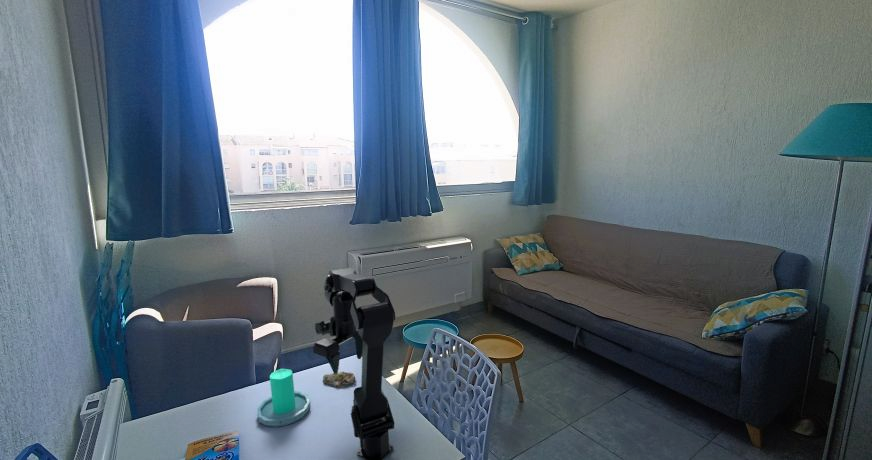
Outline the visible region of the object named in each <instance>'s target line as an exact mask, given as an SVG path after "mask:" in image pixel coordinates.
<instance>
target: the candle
mask: <svg viewBox="0 0 872 460" xmlns="http://www.w3.org/2000/svg"><path fill="white" fill-rule="evenodd" d="M269 383H270V393H271V397H272V404H273V411H274V413H276V414H285V413H288V412H290V411H292V410H293V409H294V408H295V406H296V405H295V394H294V391H295V386H294V385H295V384H294V373H293V371H292V369H287V368H280V369H277V370H274V371H273V372H272V373H271V374H270V375H269Z"/></svg>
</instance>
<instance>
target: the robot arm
mask: <svg viewBox="0 0 872 460" xmlns="http://www.w3.org/2000/svg"><path fill="white" fill-rule="evenodd" d="M323 291H324V298H325V300H326V301H327V302H328V303H329V304H330V306H332V311H333V316H331V317H330V318H329V319H328V320H326V321H324V320H321V321H317V322H315V324H314V329H315V332H316V334H317V335H322V336H325V335H329V336H331V337H334V338H333V339H330V338H327V337H323V338H322V339H320V340H318V341H316V342H314V344H313V345H312V349H313V350H312V351H313V354H316V355H319V356H321V357H324V358H326V360H327V362H328V364H329V366H330V368H331V370H332V372H333V373H336V374H337V373H339V367H340V359H341V352H339V351H340V345H341V344H344V343H345V342H347V341H349V340H351V339H354V342H355V343H354V344H355V354H356V358H357V359H358V360H361V386H359V387H356V388H354V390H353V400H352V401H353V405H351V409H350V418H351V422H352V427H353V435H354V438H359V444H360V449H359V450H358V451H357V452H356V455H357V457H359V458H361V459H363V460H384V459H385V458H386V457H388V455H389V454H390V453H391V452H392V451H393V450H394V446H393V445H392V444H390V438H389V431H390V430H394V429H395V420H394V417H393V412H392V410H391V406H390V403H389V400H388V397H387V396H386V394H385V393H384V391H383V388H382V387H383V370H384V367H383V366H384V354H385V353H384V351H385V343H386V341H387V340H388V338H389V337H390V336H391V334H392V333H393V329H394V324H395V321H396V312H395V309H394V306H393V304H392V302H391V299H390V296H389V295H388V294H387V293H386V292H384V290H383V289H381V288H380V287H378V285H377V283H376V281H375V279H374V278H373V277H370V276H369V277H367V276H362V275H360V274H357V270H355V269H354V268H353V267H346V268H339V269H331V270H329V271H328V275H326V278H325V281H324V283H323ZM369 295H371V296H372V298H373V299H375V300H376V301H378V303H373V304H368V305H363V306H359V307H358V308H357V305H356V301H357V298H359V297H364V296H369Z"/></svg>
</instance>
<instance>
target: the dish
mask: <svg viewBox="0 0 872 460" xmlns="http://www.w3.org/2000/svg"><path fill="white" fill-rule="evenodd" d="M294 394H295V405H296V406H295V408H294V409H293V410H292V411H290V412H288V413H285V414H276V413H274V411H273V404H272V396H270V397H268V398H267V399H265V400H263V401H262V402H261V403H260V405H259V406H258V407H257V408H256V410H257V411H256V412H257V413H256V414H257V415H256V416H257V420H258V422H259V423H260V424H262V425H264V426H265V427H281V426H282V427H283V426H287V425H290V424H294V423H295V422H297V421H299V420H301V419H302V418H303V417H304V416H306V415H307V414H308V413H309V411H310V409H311V400H310V397H309V394H307V393H305V392H302V391H299V390H297V391H296V390H294Z"/></svg>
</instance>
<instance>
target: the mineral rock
mask: <svg viewBox="0 0 872 460" xmlns="http://www.w3.org/2000/svg"><path fill="white" fill-rule="evenodd" d="M355 380H356V376H355V375H354V373H353V372H345V371H340V372H338V373H337V374H336V373H334V372H333V373H331V374H324V375H323V376H322V382H323V383H324V384H325V385H326V386H334V388H337V389H338V387H339V389H340V388H344V387H345V388H347V387H348V386H349V385H352V384H353V383H354V382H355Z"/></svg>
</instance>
